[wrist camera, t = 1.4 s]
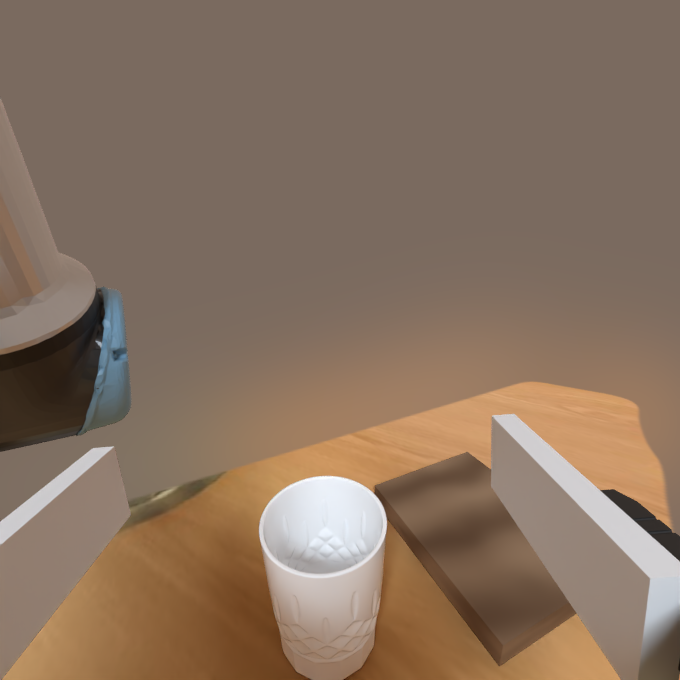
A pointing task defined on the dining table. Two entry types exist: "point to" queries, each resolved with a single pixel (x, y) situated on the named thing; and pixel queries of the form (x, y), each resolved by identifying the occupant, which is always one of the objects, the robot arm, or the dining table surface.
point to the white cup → (325, 572)
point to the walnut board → (475, 553)
